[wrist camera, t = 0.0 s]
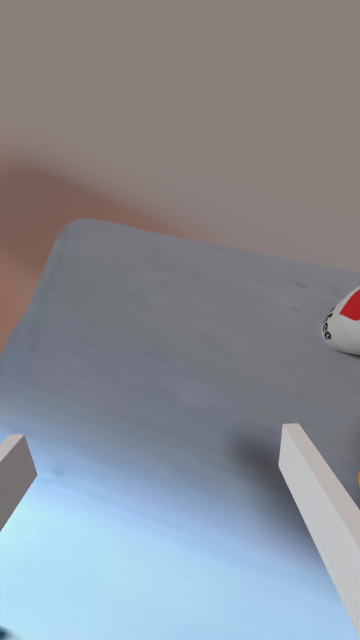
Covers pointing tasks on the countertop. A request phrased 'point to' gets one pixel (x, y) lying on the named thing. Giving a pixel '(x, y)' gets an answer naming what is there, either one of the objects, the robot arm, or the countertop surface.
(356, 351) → the cup
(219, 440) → the countertop surface
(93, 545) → the countertop surface
